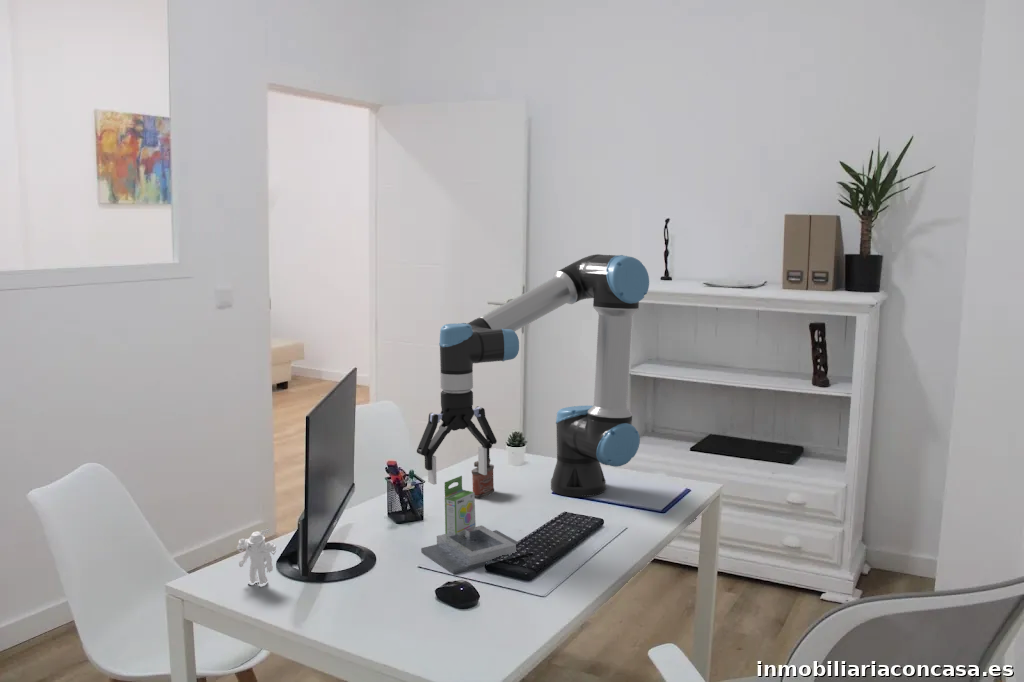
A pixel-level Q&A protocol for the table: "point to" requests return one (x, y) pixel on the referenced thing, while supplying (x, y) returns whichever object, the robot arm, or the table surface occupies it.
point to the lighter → (483, 481)
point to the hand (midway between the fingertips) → (458, 478)
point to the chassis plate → (469, 549)
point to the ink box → (458, 508)
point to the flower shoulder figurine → (257, 555)
